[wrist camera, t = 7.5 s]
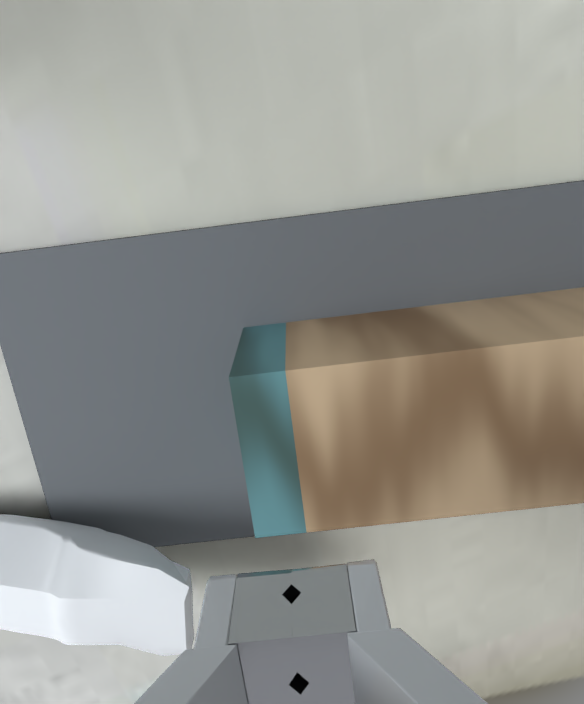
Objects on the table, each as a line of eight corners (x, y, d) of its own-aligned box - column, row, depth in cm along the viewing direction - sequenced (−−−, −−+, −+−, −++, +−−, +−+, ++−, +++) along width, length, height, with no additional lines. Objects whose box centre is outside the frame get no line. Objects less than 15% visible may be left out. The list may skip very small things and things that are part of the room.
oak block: (228, 377, 15) (691, 323, 14) (243, 327, 19) (590, 286, 19) (255, 538, 16) (674, 493, 16) (262, 455, 21) (585, 419, 21)
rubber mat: (-20, 255, 19) (-26, 257, 19) (633, 174, 18) (640, 174, 18) (66, 550, 23) (62, 556, 22) (613, 491, 22) (619, 497, 22)
